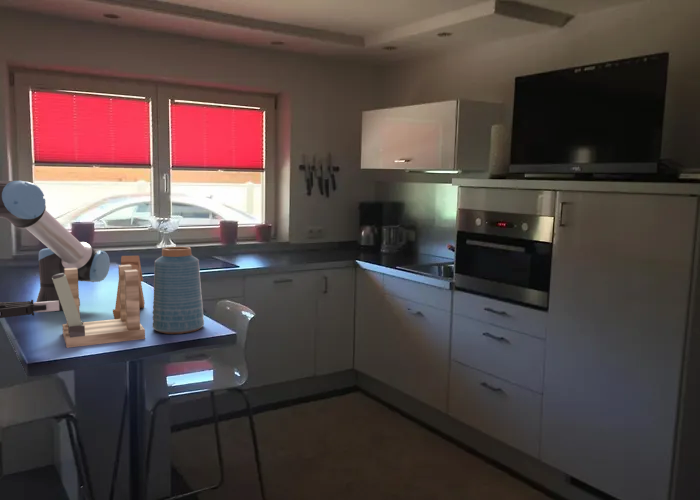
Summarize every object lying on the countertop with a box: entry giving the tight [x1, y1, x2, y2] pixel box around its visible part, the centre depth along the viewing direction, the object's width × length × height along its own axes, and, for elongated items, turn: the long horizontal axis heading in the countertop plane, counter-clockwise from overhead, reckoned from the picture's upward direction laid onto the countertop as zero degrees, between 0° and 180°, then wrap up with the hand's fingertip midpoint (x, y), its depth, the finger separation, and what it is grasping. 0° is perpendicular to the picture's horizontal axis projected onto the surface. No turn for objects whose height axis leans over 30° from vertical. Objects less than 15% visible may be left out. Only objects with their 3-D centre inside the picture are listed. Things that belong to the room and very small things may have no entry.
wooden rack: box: [62, 264, 146, 349], centre depth 189 cm, size 18×22×21 cm
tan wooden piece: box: [112, 255, 145, 319], centre depth 218 cm, size 7×23×25 cm
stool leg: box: [52, 273, 82, 327], centre depth 178 cm, size 4×4×17 cm
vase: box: [152, 246, 205, 335], centre depth 198 cm, size 16×16×27 cm
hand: (58, 305), depth 177 cm, fingers closed
